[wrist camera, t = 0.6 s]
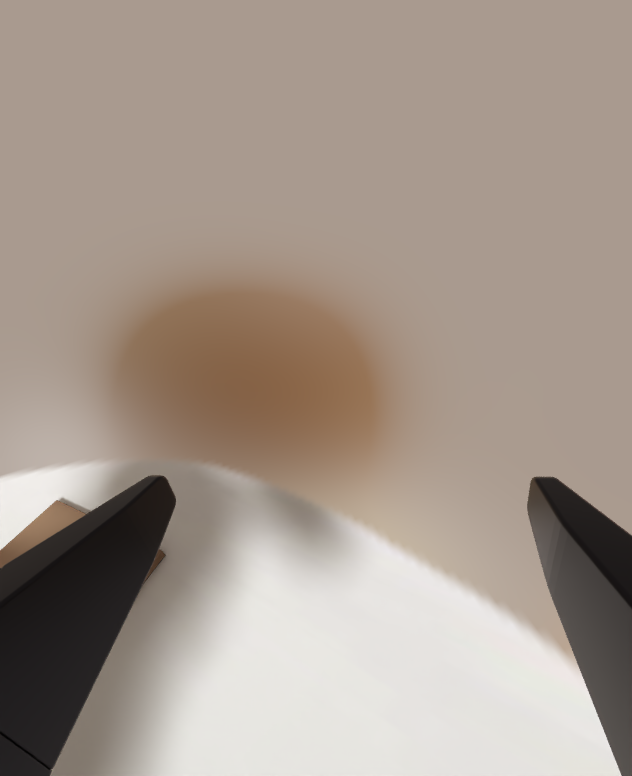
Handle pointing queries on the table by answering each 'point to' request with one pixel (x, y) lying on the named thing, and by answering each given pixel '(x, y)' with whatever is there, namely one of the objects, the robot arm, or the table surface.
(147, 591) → the table surface
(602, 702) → the robot arm
